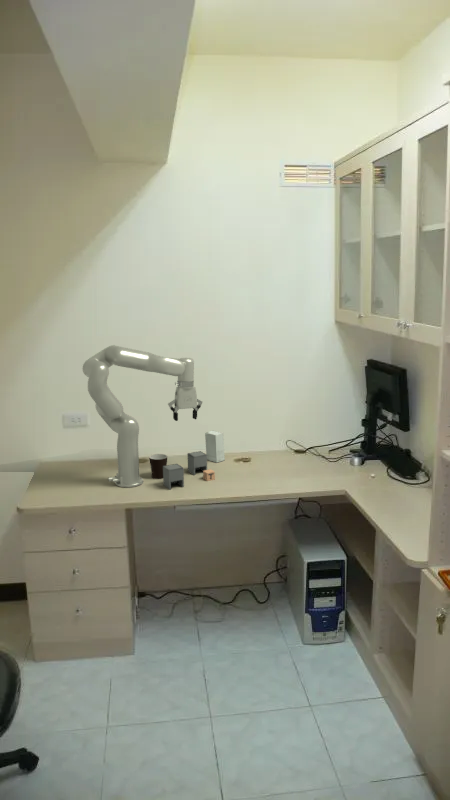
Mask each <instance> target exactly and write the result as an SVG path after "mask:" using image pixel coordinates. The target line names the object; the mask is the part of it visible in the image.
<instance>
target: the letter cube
mask: <svg viewBox="0 0 450 800" xmlns="http://www.w3.org/2000/svg"><path fill="white" fill-rule="evenodd" d="M215 477H216V472H215V470H213V469H211V468H209V469H207V470H204V471H202V478H203V480H204V481H206V482H209V481H211V482H212V481H214V480H215V479H216V478H215Z"/></svg>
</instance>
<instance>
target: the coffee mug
mask: <svg viewBox="0 0 450 800" xmlns="http://www.w3.org/2000/svg"><path fill="white" fill-rule="evenodd" d="M148 459H149V460H148V461H149V466H150V473H151V478H153V479H154V480H163V466H166V465H168V454H164V453H156V454H151V455H149V456H148Z"/></svg>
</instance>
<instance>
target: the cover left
mask: <svg viewBox="0 0 450 800" xmlns="http://www.w3.org/2000/svg"><path fill="white" fill-rule="evenodd" d="M184 471H185V469H184V467H183V466H181V465H180V464H178V463H173V464H167V465H166V466H163V479H162V481H163V486H164V487H165V488H167V489H168V490H170V491H171V490H172V485H174V484H177V485H179V486H181V487H182V488H184V487H185V481H184V480H185V475H184Z"/></svg>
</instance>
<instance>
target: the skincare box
mask: <svg viewBox="0 0 450 800" xmlns="http://www.w3.org/2000/svg"><path fill="white" fill-rule="evenodd" d="M204 437H205V454H206V455H207V461H210V462H213V463H220V462H224V461H225V459H226V458H225V457H226V456H225V442H224V440H225V439H224V432H220V431H216V430H210V431H207V432H206V431H205V432H204Z"/></svg>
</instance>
